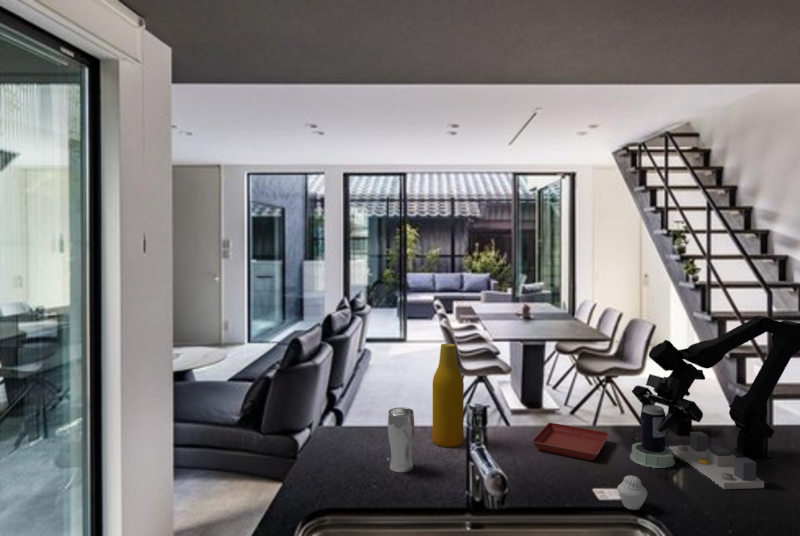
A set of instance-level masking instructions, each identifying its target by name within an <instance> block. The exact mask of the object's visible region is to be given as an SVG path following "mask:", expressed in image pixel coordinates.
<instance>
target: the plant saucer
mask: <svg viewBox="0 0 800 536" xmlns="http://www.w3.org/2000/svg"><path fill="white" fill-rule="evenodd" d="M609 436H610V433H609V432H606V431H600V430H594V429H589V428H583V427H578V426H571V425H565V424H561V423H555V422H549V423H547V424H546V425H545V426H544V427H543V428H542V429H541V430H540V432H539V433H538V434H537V435H535V437H533V439H532V440H531V441H532V443H533V445H534V446H535V447H536V448H537V449H538V450H539V451H542V452H547V453H551V454H557V455H562V456H566V457H571V458H576V459H580V460H587V461H594V460H595V459H596V457H597V456H598V455H599V454H600V452H601V450H602V448H603V447H604V445H605V443H606V441H607V440H608V438H609Z"/></svg>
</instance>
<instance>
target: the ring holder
mask: <svg viewBox="0 0 800 536" xmlns="http://www.w3.org/2000/svg"><path fill="white" fill-rule="evenodd" d="M629 458H630V460H631V461H632V462H633V461H634V463H635V464H637V465H639V464H640V466H641V467H645V466H646V468H649V467H652V468H651V469H655V468H666V467H671V466H673V465H674V464H675V465H676V461H675V459H674V455H673V450H671V449H670V448H669V446H666V445H665V450H664V451H663V452H662V453H661V454H651V453H648V452H646V451H645V450H644V449H643V448H642V442H635V443H633V444H632V445H631V453H629Z"/></svg>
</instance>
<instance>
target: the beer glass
mask: <svg viewBox="0 0 800 536" xmlns="http://www.w3.org/2000/svg"><path fill="white" fill-rule="evenodd" d="M414 412H415V411H414V410H413V409H411V408H409V407H394V408H391V409H389V410H388V414H387V415H388V418H387V435H388V442H389V447H390V463H389V469H390V470H391V471H392V472H395V473H408V472H410V471H412V469H414V466H413V459H412V451H413V450H412V449H413V444H414V437H415V413H414Z"/></svg>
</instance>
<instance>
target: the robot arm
mask: <svg viewBox="0 0 800 536" xmlns="http://www.w3.org/2000/svg"><path fill="white" fill-rule="evenodd" d="M765 333H769V334H771V336H770V338H771V348H770V351H769V352H768V354H767V356H766V358H765V360H764V362H763V364H762V366H761V367H760V369H759V371H758V373H757V374H756V376H755V378H754V380H753V382H752V383H751V386H750V387H749V389H748V391H747V392H746V393H745V394H743V395H742V396H740V395H739V394H736V395H735V396H734V397H733V401H732V402H731V403H730V404H729V405H728V407H729V411H728V414H729V417H730V419H731V421H733V423H734V424H735V427H736V428H738V429H740V430H738V435H737V439H736V447H734V448H733V451H735V452H738V453H739V454H741V455H743V456H744V457H747V458H749V459H751V460H753V459H772V458H773V457H772V456H773V455H771V454H769V453H768V452H769V451H768V449H769V448H768V447H769V446H768V445H769V438H771V439H772V437H773V435H774V433H775V430H774V429H773V428H772V426H770V424H768V423H767V422H766V419H767V416H768V401H769V398H771V395H772V393H773V392H774V390H775V388H776V386H777V384H778V382H779V381H780V378H781V377H782V375H783V373H784V371H785V370H786V368H787V366H788V364H789V362H790V361H791V358H792V357H793V356H794V355H796V354H797V353H799V352H800V322H797V321H796V322H795V321H792V320H786V319H784V320H780V321H779V320H775V319H773V318H770V317H767V316H763V315H755V316H753V317H752V318H751V319H750V320H747V321H745V322H743V323H742V324H740V325H738V326H736V327H735V328H732V329H731V330H729V331H726V332H725V333H723V334H721V335H719V336H718V337H715V338H712V339H707V340H702V341H698V342H695V343H693V344H690V345H689V346H688V347H686V348H681V349H678V348H676V347H675V346H674V344H673V343H672V341H669V340H667V339H665V340H663V342H660V343H658V344H657V345H655V346H652V347H651V349H650V351H648V352H649V353H648V357H649V358H650V359H651V360H652V361H653V363H655V364H656V365H657V366H659V367H660V368H661V369H662V370H663V371H665V372H669V371H671V373H670V374H669V376H664V377H663V376H659V375H654V374H651V373H649V374H648V377H647V381H646V383H645V385H646V386H647V387H646V386H642V385H639V384H638V385H635V386H634V387H633V389H632V390H631V393H632V394H633V395H634V396H635V397H636V398H637V400H638V401H639V402H640V403H641V412H640V417H639V420H638V421H639V422H638V423H639V424H640V425H641V426H642V410H643V408H644V405H656V403H657V404H659V405H663V406H666V407H667V412H666V413H665V418H664V419H663V421H662V423H661V424H660V426H659V428H658V431H659V432H663V431H665V432H666V430H669V428H670V427H672V426H674V425H676V424H679V423H681V422H684V421H689V419H690V420H692V422H693V421H694V422H696V423H700V422H701V421H702V419H703V417H704V413H703V410H701V408H700V407H699V405H697V403H696V401H693V400H689V399H687V398H685V396H686V397H690V395H691V393H690V391H689V390H690V388H691V386H692V385H693V384H694V382H695V380H696V381H697V380H699V381H704V380H706V376H705V374H704V371H703V369H711V368H713V367H715V366H716V365H718V363H720V362H721V361H722V360H723V359H724V357H725V356H726V354H728V353H729V352H731V351H733V350H735V349H737V348H739V347H741V346H742V345H745V344H747V343H748V342H750V341H752V340H754V339H756V338H758V337H760V336H762V335H764V334H765ZM687 362H689V363H687ZM693 364H694V365H693ZM695 365H696V366H698V367H700V368H703V369H698V368H697V367H696V366H695ZM649 387H651V388H653V392H654V393H653V392H652V390H650V388H649ZM655 393H656V394H655ZM688 417H689V419H688Z"/></svg>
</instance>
